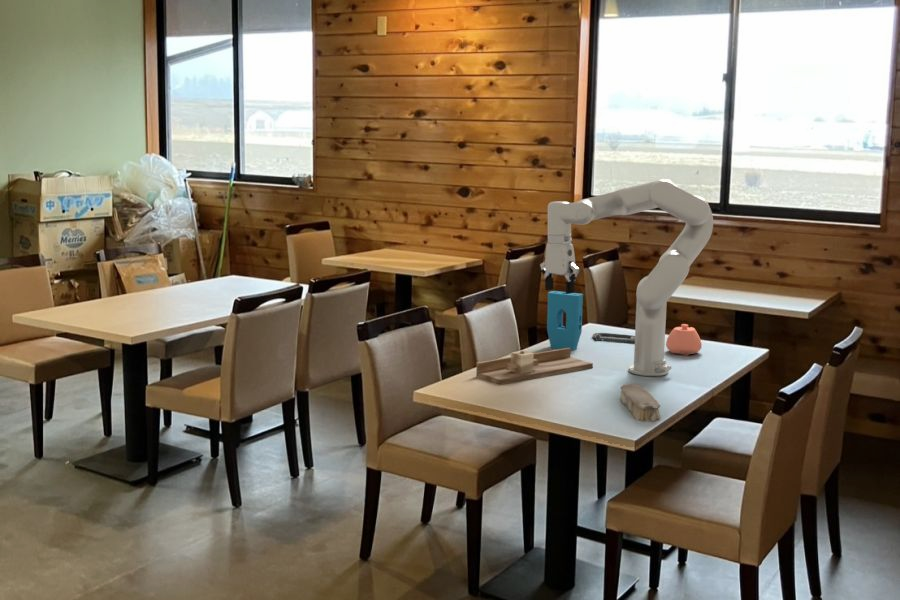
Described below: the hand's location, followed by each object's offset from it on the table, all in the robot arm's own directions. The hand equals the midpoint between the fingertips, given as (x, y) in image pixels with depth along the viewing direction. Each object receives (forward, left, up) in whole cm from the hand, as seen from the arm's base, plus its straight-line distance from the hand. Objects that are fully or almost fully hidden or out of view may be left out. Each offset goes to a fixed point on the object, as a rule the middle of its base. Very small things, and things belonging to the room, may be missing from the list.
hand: (559, 291), depth 320 cm
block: (+19, -20, -25) cm, 38 cm away
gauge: (-3, +18, -24) cm, 30 cm away
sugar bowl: (-9, -52, -26) cm, 59 cm away
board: (-2, +11, -25) cm, 28 cm away
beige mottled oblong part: (-51, +14, -26) cm, 59 cm away
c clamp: (+18, -46, -26) cm, 56 cm away
